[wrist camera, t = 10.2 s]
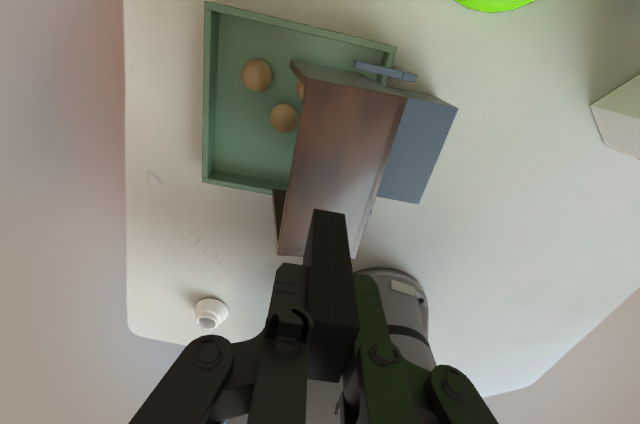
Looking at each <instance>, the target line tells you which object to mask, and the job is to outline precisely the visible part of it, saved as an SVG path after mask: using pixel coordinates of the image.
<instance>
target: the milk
mask: <svg viewBox="0 0 640 424" xmlns="http://www.w3.org/2000/svg"><path fill="white" fill-rule="evenodd" d="M590 108H591V110H592V113H593V115H594V118H595V121H596V123H597V126H598V128H599V131H600V134H601V136H602V139H603V141H604V144H605V146H606V147H608V148H611V149H613V150H616V151H618V152H621V153H624V154H626V155H629V156H631V157H634V158H637V159H639V160H640V74H639V75H637V76H636V77H634V78H633V79H631V80H629V81H628V82H626V83H625V84H623V85H622V86H620V87H618V88H617V89H615V90H614V91H612V92H611V93H609V94H607V95H606V96H604V97H603V98H601V99H600V100H598V101H596V102H595V103H593V104H592V105H590Z"/></svg>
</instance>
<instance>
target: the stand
mask: <svg viewBox="0 0 640 424" xmlns="http://www.w3.org/2000/svg"><path fill="white" fill-rule="evenodd" d="M353 67H354V68H355V69H358V70H362V71H367V72H371V73H376V74H380V75H384V76H389V77H393V78H397V79H402V80H406V81H410V82H415V81H416V78H417V75H416V74H413V73H411V72H408V71H406V70H403V69H401V68H397V67H393V66H392V68H388V67H384V66H380V65H376V64H371V63H367V62H363V61H358V60H354V63H353ZM386 87H387V88H389V89H391V90H393V91H395V92H397V93H399V94H402V95H404V96H406V97H408V101H407V104H406V107H405V110H404V113H403V116H402V119H401V122H400V125H399V128H398V131H397V134H396V137H395V140H394V143H393V146H392V149H391V152H390V155H389V158H388V161H387V164H386V167H385V170H384V173H383V176H382V179H381V182H380V185H379V188H378V191H377V194H376V196H378V197H383V198H388V199H394V200H399V201H404V202H409V203H415V204H419V202H420V199H421V197H422V195H423V192H424V190H425V187H426V185H427V183H428V180H429V178H430V175H431V173H432V171H433V168H434V166H435V163H436V161H437V159H438V156H439V154H440V151H441V149H442V147H443V144H444V142H445V139H446V137H447V135H448V132H449V130H450V127H451V125H452V123H453V120H454V118H455V115H456V113H457V111H458V108H456V107H454V106H452V105H450V104H449V103H447V102H445V101H443V100H441V99H439V98H437V97H433V96H429V95H424V94H420V93H415V92H411V91H406V90H402V89H398V88H393V87H389V86H386ZM371 212H372V209H371ZM371 212H370V215H371Z"/></svg>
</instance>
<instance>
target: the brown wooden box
mask: <svg viewBox="0 0 640 424" xmlns="http://www.w3.org/2000/svg"><path fill="white" fill-rule="evenodd" d="M289 67H290V69H291V70H292V71H293V73H294V74H295V75H296V77H297V78H298V79H299V81H300V82H301V83H302V85H303V86H304V92H303V98H302V104H301V110H300V116H299V122H298V128H297V133H296V139H295V145H294V151H293V157H292V163H291V169H290V175H289V181H288V187H287V190H279V189H272V204H273V215H274V225H275V236H276V247H277V255H282V256H304V251H305V246H306V242H307V237H308V232H309V228H310V223H311V219H312V214H313V210H314V209H320V210H326V211H331V212H337V213H342V214H345V219H346V226H347V234H348V241H349V248H350V256H351V259H355V257H356V254H357V251H358V248H359V245H360V242H361V239H362V236H363V233H364V230H365V227H366V224H367V221H368V218H369V215H370V212H371V209H372V206H373V203H374V200H375V197H376V194H377V191H378V188H379V185H380V182H381V179H382V176H383V173H384V170H385V167H386V164H387V161H388V158H389V155H390V152H391V149H392V146H393V143H394V140H395V137H396V134H397V131H398V128H399V125H400V122H401V119H402V116H403V113H404V110H405V107H406V104H407V101H408V97H406V96H404V95H402V94H399V93H397V92H395V91H393V90H391V89H389V88H387V87H385V86H383V85H381V84H379V83H377V82H375V81H373V80H371V79H369V78H367V77H365V76H364V74H361V73H356V72H350V71H343V70H338V69H333V68H329V67H324V66H319V65H314V64H310V63H305V62H300V61H296V60H290V66H289Z"/></svg>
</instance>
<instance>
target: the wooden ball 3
mask: <svg viewBox="0 0 640 424" xmlns="http://www.w3.org/2000/svg"><path fill="white" fill-rule="evenodd" d="M296 92H297V94H298V96H299V98H300V99H301V100H302V98H303V92H304V86H303V85H302V83H301V82H300V81H299V79H298V80H297V83H296Z"/></svg>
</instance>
